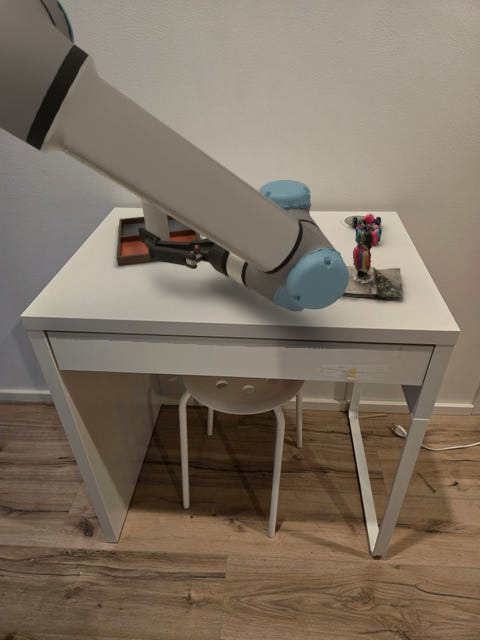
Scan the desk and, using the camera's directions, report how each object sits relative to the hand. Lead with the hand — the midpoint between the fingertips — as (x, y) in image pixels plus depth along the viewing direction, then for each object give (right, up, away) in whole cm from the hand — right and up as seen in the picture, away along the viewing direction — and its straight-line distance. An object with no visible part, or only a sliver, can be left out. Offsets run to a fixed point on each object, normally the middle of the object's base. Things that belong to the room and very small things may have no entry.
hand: (169, 223), depth 89 cm
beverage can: (-3, -4, +8) cm, 9 cm away
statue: (+40, -13, -6) cm, 42 cm away
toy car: (+44, 0, +12) cm, 46 cm away
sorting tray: (-4, -1, +12) cm, 13 cm away
